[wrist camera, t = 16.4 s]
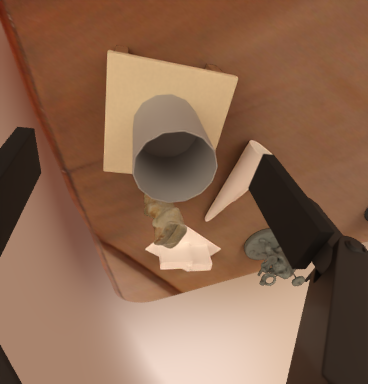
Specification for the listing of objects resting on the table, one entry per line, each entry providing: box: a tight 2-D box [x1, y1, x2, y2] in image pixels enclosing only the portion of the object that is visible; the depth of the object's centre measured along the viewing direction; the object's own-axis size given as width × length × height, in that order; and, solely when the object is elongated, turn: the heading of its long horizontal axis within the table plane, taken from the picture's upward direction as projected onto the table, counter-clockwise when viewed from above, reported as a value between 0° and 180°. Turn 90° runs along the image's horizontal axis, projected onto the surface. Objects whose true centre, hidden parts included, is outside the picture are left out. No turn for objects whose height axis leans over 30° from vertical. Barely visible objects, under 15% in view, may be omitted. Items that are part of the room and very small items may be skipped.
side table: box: [103, 45, 238, 174], centre depth 36 cm, size 15×15×8 cm
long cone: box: [205, 140, 272, 221], centre depth 49 cm, size 6×6×19 cm
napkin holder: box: [145, 225, 221, 272], centre depth 59 cm, size 15×11×6 cm
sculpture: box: [144, 194, 187, 248], centre depth 42 cm, size 6×7×15 cm
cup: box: [132, 94, 218, 203], centre depth 29 cm, size 8×8×10 cm
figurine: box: [244, 228, 305, 286], centre depth 60 cm, size 11×11×12 cm
